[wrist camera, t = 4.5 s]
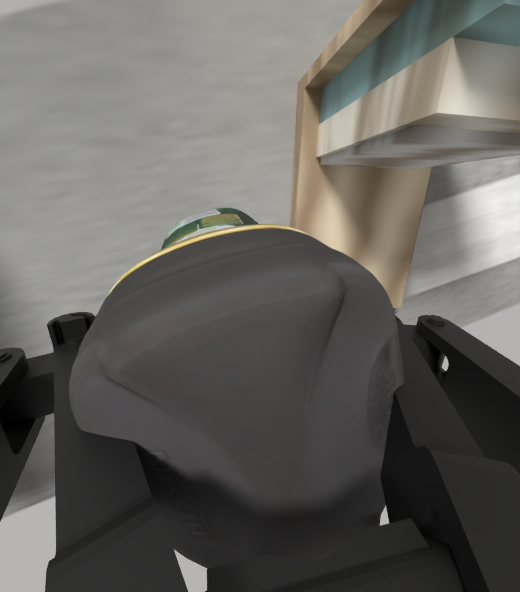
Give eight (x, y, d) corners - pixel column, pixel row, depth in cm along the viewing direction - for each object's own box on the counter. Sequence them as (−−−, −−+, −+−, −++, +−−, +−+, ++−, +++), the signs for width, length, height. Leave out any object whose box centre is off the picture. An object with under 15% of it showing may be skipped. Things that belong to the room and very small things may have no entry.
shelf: (285, 307, 32) (425, 505, 11) (298, 82, 24) (806, -560, 4) (390, 301, 34) (659, 455, 14) (432, 96, 26) (1177, -237, 6)
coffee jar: (279, 301, 24) (456, 543, 7) (197, 330, 24) (186, 667, 7) (250, 194, 21) (475, 187, 4) (151, 224, 20) (-135, 387, 3)
